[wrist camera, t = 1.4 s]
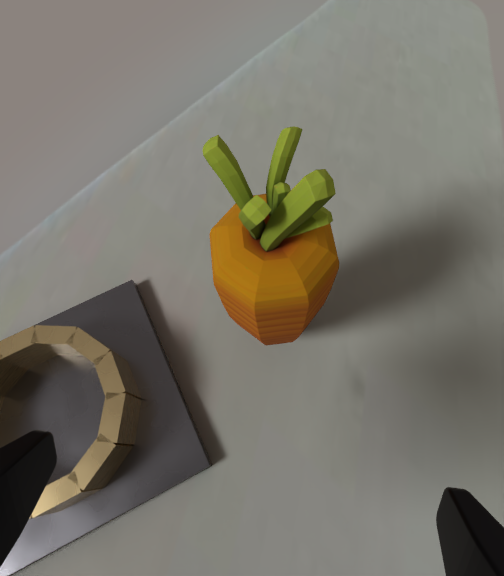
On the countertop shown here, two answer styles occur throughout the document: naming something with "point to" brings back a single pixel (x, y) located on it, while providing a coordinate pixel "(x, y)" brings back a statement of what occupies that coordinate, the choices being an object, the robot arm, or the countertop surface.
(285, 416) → the countertop surface
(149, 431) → the collar plate
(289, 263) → the carrot
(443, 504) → the robot arm
